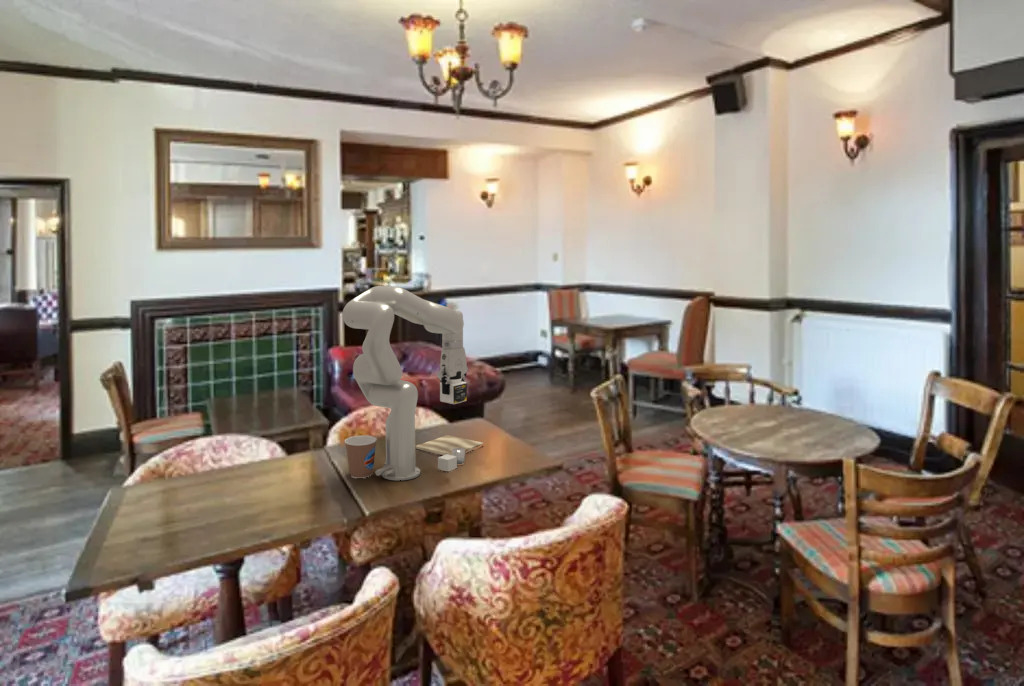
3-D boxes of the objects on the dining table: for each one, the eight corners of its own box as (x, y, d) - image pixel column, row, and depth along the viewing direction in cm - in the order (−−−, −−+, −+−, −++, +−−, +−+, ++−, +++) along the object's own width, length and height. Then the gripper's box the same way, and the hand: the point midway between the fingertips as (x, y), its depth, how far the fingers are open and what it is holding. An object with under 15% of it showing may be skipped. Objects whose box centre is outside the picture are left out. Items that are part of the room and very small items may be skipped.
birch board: (452, 458, 228) (452, 454, 228) (415, 449, 238) (415, 445, 238) (483, 446, 242) (483, 442, 242) (447, 438, 253) (447, 434, 252)
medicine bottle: (453, 404, 230) (453, 371, 229) (439, 401, 235) (439, 369, 233) (467, 400, 236) (467, 369, 234) (453, 398, 240) (452, 366, 238)
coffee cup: (369, 481, 204) (369, 445, 202) (339, 479, 206) (338, 443, 204) (382, 471, 214) (381, 436, 212) (353, 468, 216) (353, 434, 214)
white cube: (448, 472, 213) (448, 459, 213) (438, 470, 216) (438, 457, 215) (456, 469, 217) (456, 456, 216) (446, 466, 219) (446, 454, 219)
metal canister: (459, 466, 219) (459, 452, 219) (449, 464, 222) (449, 450, 221) (467, 463, 223) (467, 449, 222) (457, 460, 226) (457, 447, 225)
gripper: (444, 348, 223) (445, 398, 226) (475, 342, 237) (476, 389, 240) (428, 346, 228) (429, 395, 230) (460, 341, 241) (460, 386, 244)
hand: (453, 391), depth 235 cm, fingers closed on medicine bottle, 7 cm apart
